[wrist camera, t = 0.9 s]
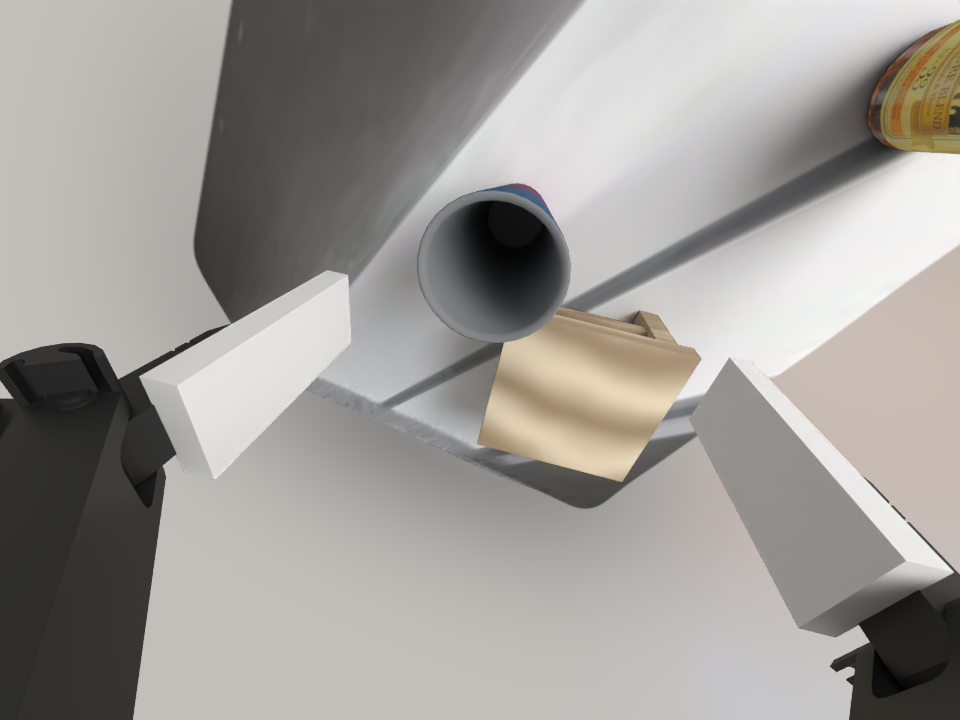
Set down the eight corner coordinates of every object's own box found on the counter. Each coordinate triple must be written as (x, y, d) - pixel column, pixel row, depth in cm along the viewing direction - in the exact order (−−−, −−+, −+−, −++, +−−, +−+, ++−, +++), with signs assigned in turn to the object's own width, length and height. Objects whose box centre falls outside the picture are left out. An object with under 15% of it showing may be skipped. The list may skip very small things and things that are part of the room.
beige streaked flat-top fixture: (519, 275, 30) (512, 312, 24) (666, 311, 30) (701, 358, 23) (489, 390, 37) (477, 444, 31) (607, 420, 37) (622, 481, 30)
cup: (474, 258, 30) (422, 337, 18) (474, 169, 27) (410, 187, 14) (553, 262, 29) (559, 349, 17) (564, 171, 26) (583, 192, 13)
